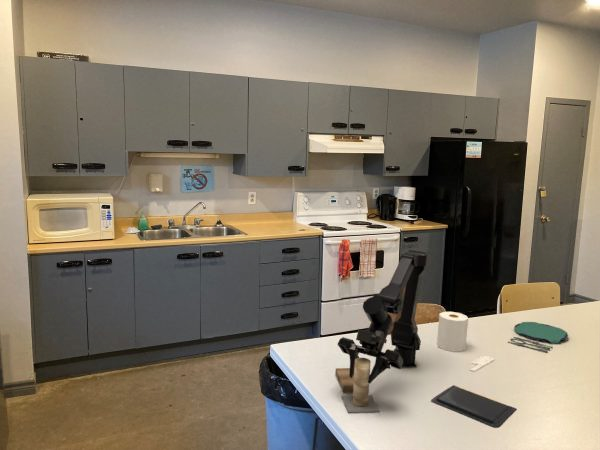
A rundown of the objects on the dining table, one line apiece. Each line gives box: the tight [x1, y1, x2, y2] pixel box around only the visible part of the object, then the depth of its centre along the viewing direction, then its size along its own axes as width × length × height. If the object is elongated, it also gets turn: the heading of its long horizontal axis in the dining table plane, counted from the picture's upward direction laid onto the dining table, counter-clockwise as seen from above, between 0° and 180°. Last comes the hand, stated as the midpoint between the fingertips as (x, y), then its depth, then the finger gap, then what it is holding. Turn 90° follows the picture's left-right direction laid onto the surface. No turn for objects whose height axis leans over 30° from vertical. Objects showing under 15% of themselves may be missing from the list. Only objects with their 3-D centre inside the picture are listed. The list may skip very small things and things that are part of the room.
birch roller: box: [352, 357, 372, 407], centre depth 137 cm, size 4×4×12 cm
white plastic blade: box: [469, 355, 495, 373], centre depth 168 cm, size 5×15×1 cm, turn 133°
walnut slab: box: [334, 367, 354, 394], centre depth 151 cm, size 12×7×2 cm, turn 7°
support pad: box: [341, 394, 381, 414], centre depth 138 cm, size 9×9×1 cm
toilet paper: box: [436, 311, 469, 353], centre depth 182 cm, size 10×10×12 cm
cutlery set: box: [507, 321, 569, 354], centre depth 195 cm, size 20×30×2 cm, turn 137°
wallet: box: [430, 385, 518, 429], centre depth 140 cm, size 20×2×15 cm
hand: (359, 380), depth 136 cm, fingers open, 5 cm apart
